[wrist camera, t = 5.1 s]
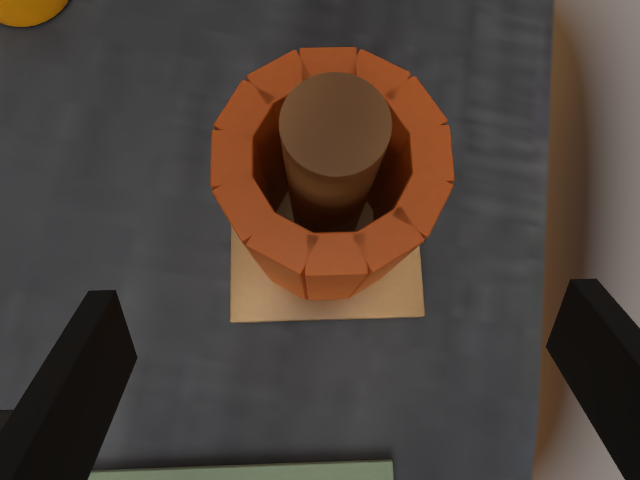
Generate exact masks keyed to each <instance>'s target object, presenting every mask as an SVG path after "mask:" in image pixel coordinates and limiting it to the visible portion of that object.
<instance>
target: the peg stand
mask: <svg viewBox="0 0 640 480" xmlns="http://www.w3.org/2000/svg"><path fill="white" fill-rule="evenodd" d="M279 134H280V140H281V146H282V152H283V158H284V164H285V170H286V176H287V182H288V188H289V191H288V192H287V194H286V196H285V197H284V199H283V201H282V203H281V204H280V206H279V208H278V210H277V211H276V213H277V214H279V215H281V216H283V217H285V218H287V219H289V220H291V221H292V222H294V223H296V224H298V225H300V226H302V227H304V228H306V229H308V230H309V231H311V232H313V233H318V232H356V231H358V230H360V229H362V228H363V227H365V226H366V225H368V224H370V223H371V222H373V221H374V219H373V209H372V208H371V206H370V205H369V203H368V202H367V198H368V195H369V193H370V190H371V188H372V185H373V183H374V180H375V178H376V175H377V172H378V170H379V167H380V165H381V162H382V160H383V157H384V155H385V152H386V149H387V147H388V144H389V142H390V138H391V134H392V117H391V113H390V109H389V107H388V105H387V102H386V101H385V99H384V97H383V96H382V95H381V93H380V92H379V91H378V90H377V89H376V88H375V87H374V86H373V85H371V84H370V83H369V82H367V81H366V80H364V79H362V78H360V77H358V76H355V75H352V74H348V73H343V72H326V73H321V74H317V75H314V76H312V77H310V78H307V79H306V80H304V81H302V82H301V83H299V84H298V85H297V86H296V87H295V88H294V89H293V90H292V91H291V92H290V93H289V95H288V96H287V97H286V99H285V101H284V103H283V105H282V108H281V111H280V115H279ZM424 316H425V308H424V295H423V282H422V269H421V256H420V245H419V246H418V247H417V248H416V249H415V250H414V251H412V252H411V253H410V254H409V255H408V256H407V257H405V258H404V259H403V260H402V261H401V262H400V263H398V264H397V265H396V266H395V267H394V268H393V269H392V270H390V271H389V272H388V273H387V274H386V275H385V276H383V277H382V278H381V279H379V280H378V281H376V282H375V283H373V284H371V285H370V286H368V287H367V288H365V289H364V290H362V291H360V292H359V293H357V294H356V295H354V296H352V297H351V298H349V297H347V299H331V300H308V296H307V297H306V299H303V298H302V297H300V296H298V295H296V294H294V293H292V292H290V291H289V290H287V289H285V288H283V287H281V286H279V285H278V284H276V283H274V282H272V281H271V279H269V278H268V276H267V275H266V274H265V272H264V271H263V270H262V268H261V267H260V266H259V264H258V263H257V262H256V260H255V259H254V258H253V256H252V255H251V254H250V252H249V251H248V250H247V248H246V247H245V246H244V245H243V243H242V242H241V240H240V239H239V237H238V235H237V234H236V232H235V230H234V229H233V227H232V225H231V278H230V322H232V323H252V322H285V321H318V320H351V319H384V318H416V317H424Z"/></svg>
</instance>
